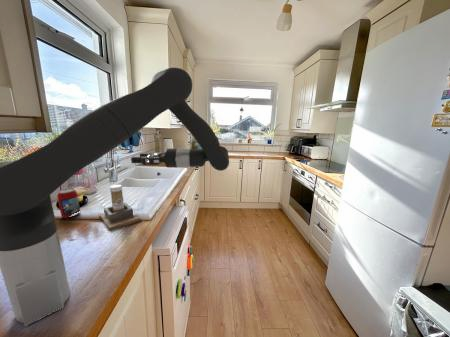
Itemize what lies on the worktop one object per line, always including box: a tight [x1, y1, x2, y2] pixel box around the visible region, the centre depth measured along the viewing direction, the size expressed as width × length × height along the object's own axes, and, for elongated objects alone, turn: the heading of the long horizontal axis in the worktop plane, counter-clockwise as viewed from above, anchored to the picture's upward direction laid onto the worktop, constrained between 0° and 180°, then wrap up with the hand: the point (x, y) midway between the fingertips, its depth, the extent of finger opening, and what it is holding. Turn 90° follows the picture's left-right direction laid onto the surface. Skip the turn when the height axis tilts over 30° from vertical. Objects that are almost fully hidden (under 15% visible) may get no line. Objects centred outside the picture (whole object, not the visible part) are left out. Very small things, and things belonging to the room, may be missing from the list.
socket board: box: [99, 202, 142, 232], centre depth 83 cm, size 18×12×4 cm, turn 44°
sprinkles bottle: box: [109, 184, 125, 213], centre depth 82 cm, size 5×5×13 cm
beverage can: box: [56, 188, 81, 219], centre depth 84 cm, size 7×7×12 cm
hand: (136, 158), depth 73 cm, fingers open, 8 cm apart
